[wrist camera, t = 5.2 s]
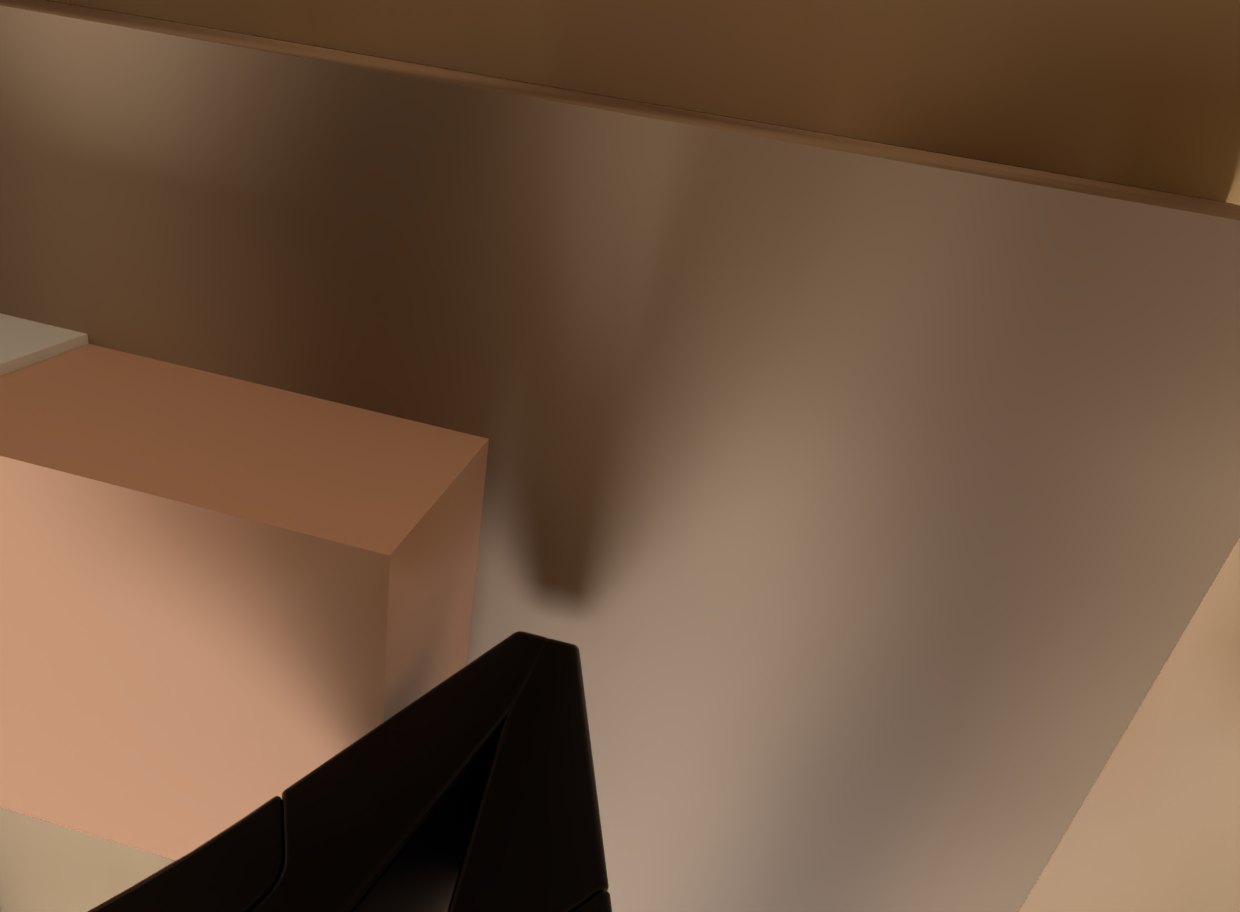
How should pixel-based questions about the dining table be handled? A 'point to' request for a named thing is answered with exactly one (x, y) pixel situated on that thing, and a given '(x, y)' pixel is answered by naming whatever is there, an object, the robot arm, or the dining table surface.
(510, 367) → the tan board
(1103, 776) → the dining table surface
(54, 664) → the terracotta tile
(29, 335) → the cream tile
